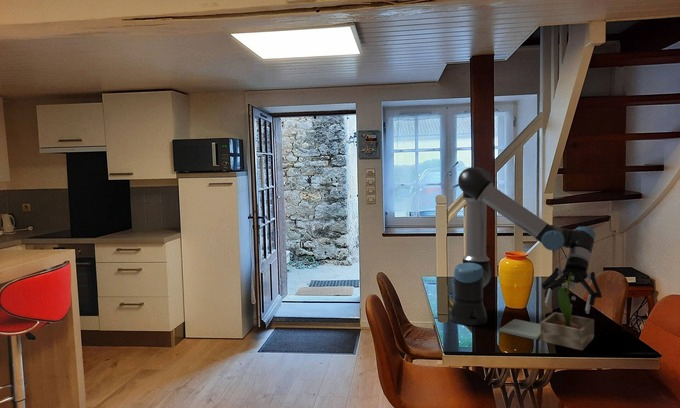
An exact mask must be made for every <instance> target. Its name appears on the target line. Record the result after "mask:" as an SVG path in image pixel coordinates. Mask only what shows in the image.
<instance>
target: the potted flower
mask: <svg viewBox="0 0 680 408" xmlns="http://www.w3.org/2000/svg"><path fill="white" fill-rule="evenodd" d="M571 274H572V273H570V274H569V278H568V281H567V280H565V281H567V282H566V283H567V284H566V283H563V284H561V287H559V289H558V292H557V302H558V304H557V305H558V307H559V309H560V311H561V313H562V314H563V315H564V318H565V321H558V322H555V323H554V324H556V325H561V326H566V327H571V328H577V329H580V326H579V325H578V324H576V323H572V322H570V317H571V315H572V312H573V304H572V303H571V300H572V301H576V299H577V297H576V296H575V293H574V292H573V291H570V288H571V289H572V290H575V289H576V285H575V283H574V282H573V281H572V280H574V277H573V276H571ZM573 275H574V274H573ZM570 276H571V277H570ZM570 279H571V281H569V280H570ZM565 281H564V282H565ZM571 293H572V294H573V296H571V299H570V294H571Z"/></svg>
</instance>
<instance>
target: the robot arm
mask: <svg viewBox="0 0 680 408" xmlns="http://www.w3.org/2000/svg"><path fill="white" fill-rule="evenodd" d="M493 181H494V180H493V177H492V175H491V173H490V172H489V171H488V170H487V169H485V168H483V167H468V168H465V169H464V170H462V171H461V172H460V173H459V176H458V180H457V183H458V187H459V189H460V191H462V192H463V193H462V198H463V200H464V201H465V202H466V227H465V228H466V229H465V230H466V231H465V232H466V235H465V236H466V238H465V239H466V240H465V241H466V242H465V243H466V245H465V246H466V251H465V253H466V254H465V255H464V256H463V257H462V263H458V264H457V265H456V266H455V268H454V272H453V278H454V280H453V281H454V283H453V285H454V286H453V289H454V292H453V293H454V302H453V304H452V307H451V310H450V314H449V319H450V321H451V322H454V323H456V324H459V325H464V326H482V325H485V324H487V323H488V314H487V311H486V308H485V306H484V288H485V287H486V286H487V285H488V284H489V283H490V281H491V280H492V279H491V278H492V268H491V266H490V261H491V260H490V258H489V257H488V255H487V220H488V219H487V216H488V215H487V213H488V212H487V210H488V209H487V208H488V207H490V208H491V209H493V211H495V212H497V213H498V214H499V215H501V216H503V217H504V218H506V219H507V220H508V221H510V222H511V223H513V224H514V226H517V227H518V228H520V229H521V230H523V231H524V232H525V233H527V234H528V235H530V236H531V237H532V238H534V239H535V240H537V241H538V242H539V243H541V244H542V246H543V247H544V248H545V249H547V250H549V251H558V250H560V249H561V248H562V247H563V248H567V249H569V252H568V255H567V259H566V262H565V263H566V264H565V267H564V269H559V267H555V268H554V271H553V272H552V274H551V275H549V276H548V277H547V278H546V279H545V280H544V281H543V282H542V283H541V288H542V289H543V290H544V295H543V296H544V297H545V300H544V304H545V307H546V308H549V306H550V302H551V299H552V296H553V290H555V289H556V288H558V287H560V286H562V284H566V283H567V281H568V278H569V274H570V273H572V274H571V276H573V277H574V280H572V281H573V282H574V283H573V282H572V283H573V284H579V283H580V284H581V285H582V286H583V287H584V289H585V290H586V291H587V293H588V296H587V300H586V304H585V307H584V308H585V309H584V311H585V314H587V315H589V314H590V310H591V306H594V305H595V302H596V299H597V298H599V299H601V298H603V294H602V291H601V290H600V286H599V285H598V282H597V280H596V279H597V277H596V274H595V272H594V271H592V272H589V273H588V270H589V263H590V261H591V256H592V251H593V248H594V244H595V240H596V239H595V238H596V232H595V231H594V230H593V228H591V227H588V226H586V225H585V226H584V225H583V226H577V227H576V228H575V229H568V228H564V227H561V226H556V225H554V224H549V223H547V222H546V221H545V220H544V219H542V218H540V217H539V216H537V215H536V214H535V213H533V212H532V211H530V210H529V209H528V208H526V207H524V206H523V205H521V204H520V203H519V202H517V201H516V200H514V199H513V198H511V197H510V196H508V195H507V194H505V193H504V192H503V191H501V190H500V189H498V188H497V187H496V186H494V183H493ZM573 274H574V275H573ZM571 276H570V277H571ZM587 278H588V279H589V280H591V282H592V285H593V287H594V290H593V288H592V287H591V286H590V284H588V283H587V281H586V279H587ZM565 280H567V281H565ZM564 281H565V282H564ZM569 281H571V279H570V280H569Z"/></svg>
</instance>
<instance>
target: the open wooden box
mask: <svg viewBox="0 0 680 408" xmlns="http://www.w3.org/2000/svg"><path fill="white" fill-rule="evenodd" d="M558 321H565V318H564V315H563V313H562V312H557V311H554V312H552V313H551V314H549V315H548V316H547V317H545V319H543V320H542V321H540V324H541V333H540V337H539V338H540V340H539V341H540V342H543V341H544V343H548V344H552V345H557V346H562V347H565V348H571V349H574V350H579V351H584V349H585V348H586V347H588V345H589V344H590V343H591V342H592V341H593V339H594V338H595V319H594V318H589V317H584V316H579V315H572V314H571V317H570V322H572V323H576V324H578V325H579V326H580V329H577V328H571V327H566V326H561V325H556V324H554V323H555V322H558Z"/></svg>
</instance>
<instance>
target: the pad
mask: <svg viewBox="0 0 680 408" xmlns="http://www.w3.org/2000/svg"><path fill="white" fill-rule="evenodd" d="M498 332H499V333H505V334H509V335H514V336H518V337H522V338H527V339H530V340H535V341H537V340H538V339H539V338H540V333H541V323H537V322H530V321H526V320H522V319H516V318H514V319H512V320H511V321H509V322H507V323H506V324H505V325H503V326H501V327H500V328H499V329H498Z"/></svg>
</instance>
